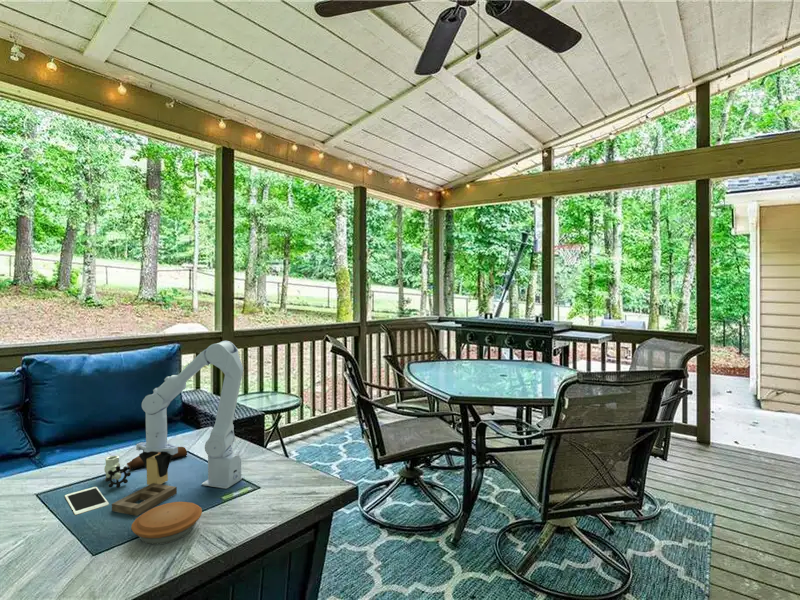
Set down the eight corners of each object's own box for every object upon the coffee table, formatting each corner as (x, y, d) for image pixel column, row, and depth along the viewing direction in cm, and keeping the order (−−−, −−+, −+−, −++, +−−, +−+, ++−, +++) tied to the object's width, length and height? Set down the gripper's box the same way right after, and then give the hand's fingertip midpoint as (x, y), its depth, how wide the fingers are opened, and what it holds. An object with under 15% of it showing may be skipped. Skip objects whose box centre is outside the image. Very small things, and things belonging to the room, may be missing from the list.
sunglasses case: (179, 450, 161) (182, 437, 158) (185, 464, 156) (188, 451, 154) (124, 464, 148) (126, 450, 145) (128, 479, 144) (130, 465, 141)
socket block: (176, 493, 126) (176, 486, 126) (137, 515, 113) (137, 508, 113) (153, 489, 128) (152, 483, 128) (111, 511, 116) (111, 503, 116)
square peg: (167, 480, 133) (167, 455, 133) (157, 486, 130) (156, 460, 129) (157, 479, 135) (157, 454, 134) (146, 484, 131) (146, 458, 131)
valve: (99, 479, 136) (105, 491, 128) (98, 458, 136) (105, 469, 128) (123, 472, 141) (131, 484, 132) (122, 453, 141) (130, 463, 132)
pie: (143, 559, 95) (142, 537, 95) (123, 532, 105) (123, 513, 105) (212, 530, 106) (212, 510, 106) (188, 509, 117) (188, 491, 116)
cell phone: (75, 516, 114) (75, 514, 114) (64, 497, 125) (64, 494, 125) (109, 506, 119) (109, 504, 119) (96, 488, 130) (96, 486, 130)
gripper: (127, 433, 130) (127, 477, 130) (164, 437, 126) (165, 483, 126) (147, 426, 137) (147, 468, 137) (182, 430, 133) (183, 473, 133)
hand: (157, 474), depth 132 cm, fingers closed on square peg, 4 cm apart
